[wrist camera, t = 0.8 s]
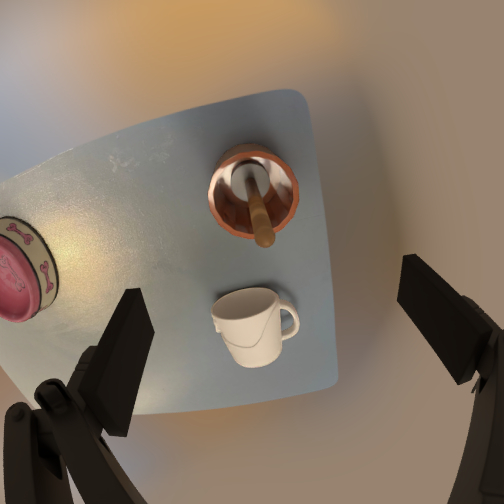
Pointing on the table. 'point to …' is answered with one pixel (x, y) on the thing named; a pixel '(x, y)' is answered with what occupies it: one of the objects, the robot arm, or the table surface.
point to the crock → (276, 199)
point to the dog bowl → (24, 271)
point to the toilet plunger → (254, 198)
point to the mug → (253, 325)
